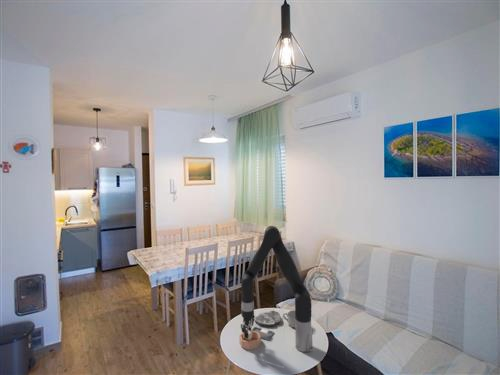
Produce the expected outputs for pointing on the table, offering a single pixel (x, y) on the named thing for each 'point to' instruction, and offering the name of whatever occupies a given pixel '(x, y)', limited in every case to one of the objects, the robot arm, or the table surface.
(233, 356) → the table surface
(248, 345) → the bowl
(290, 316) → the teacup
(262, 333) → the stone
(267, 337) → the tray
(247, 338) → the stone
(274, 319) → the brain slice
